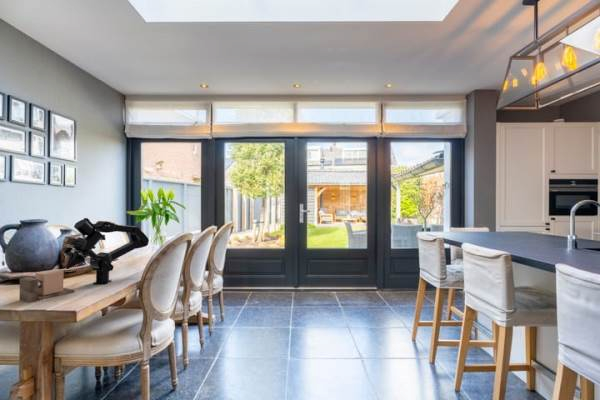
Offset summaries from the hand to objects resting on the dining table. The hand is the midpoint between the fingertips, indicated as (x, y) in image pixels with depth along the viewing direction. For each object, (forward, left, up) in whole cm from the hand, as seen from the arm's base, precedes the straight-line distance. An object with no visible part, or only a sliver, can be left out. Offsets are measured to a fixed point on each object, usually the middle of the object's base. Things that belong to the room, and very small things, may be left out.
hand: (66, 268), depth 154 cm
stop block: (+7, -4, -11) cm, 13 cm away
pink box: (+6, -3, -9) cm, 12 cm away
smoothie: (-41, -19, -11) cm, 46 cm away
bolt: (+9, -5, -6) cm, 12 cm away
